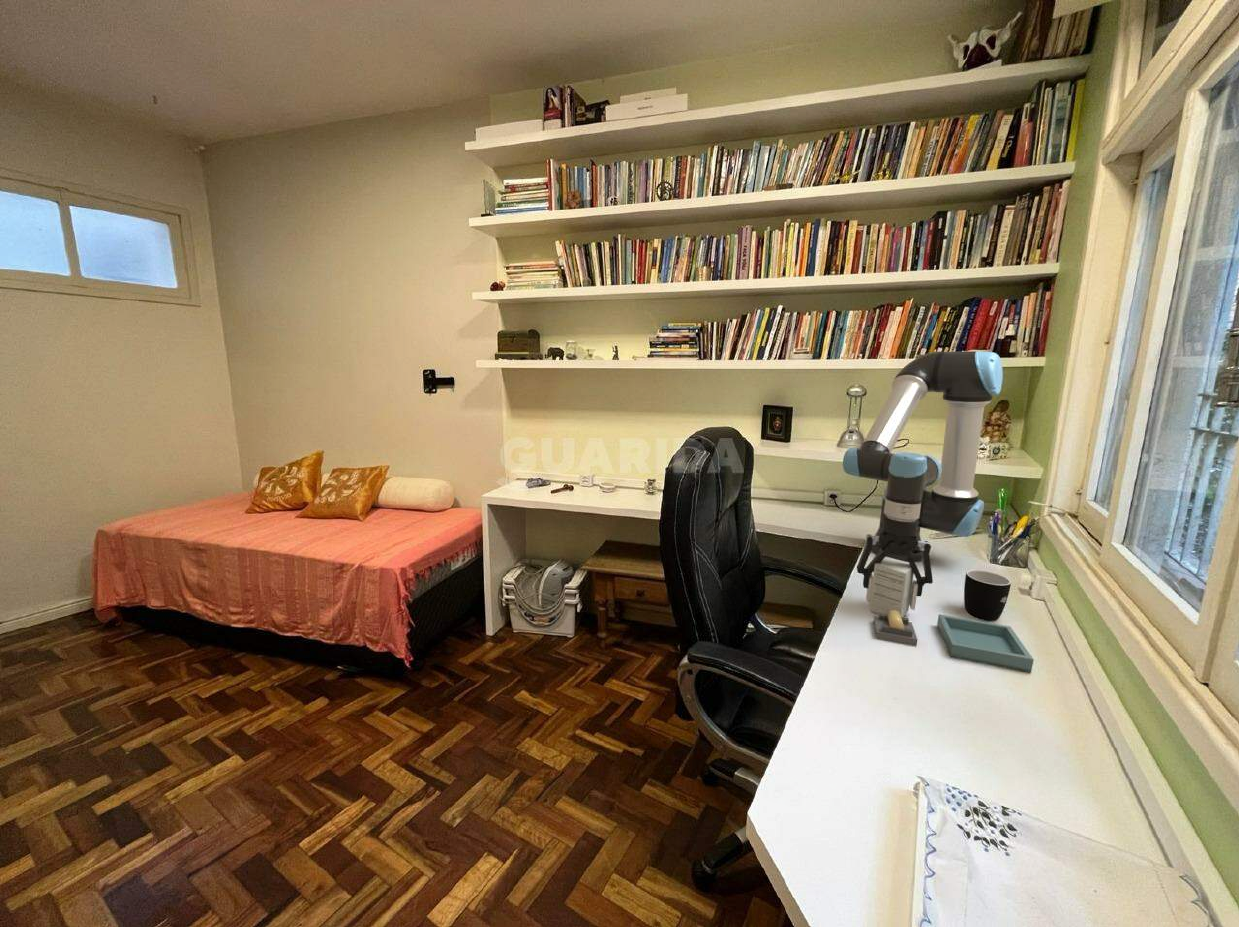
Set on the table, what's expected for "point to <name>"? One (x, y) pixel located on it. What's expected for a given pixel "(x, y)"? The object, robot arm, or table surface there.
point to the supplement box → (891, 586)
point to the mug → (985, 594)
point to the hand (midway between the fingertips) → (889, 603)
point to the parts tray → (984, 643)
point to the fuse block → (894, 628)
